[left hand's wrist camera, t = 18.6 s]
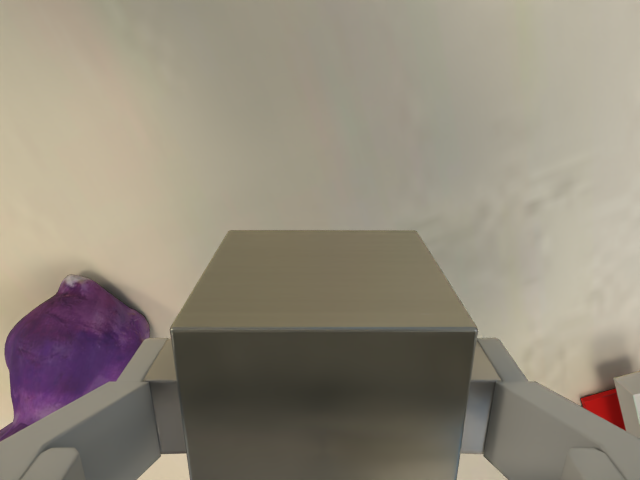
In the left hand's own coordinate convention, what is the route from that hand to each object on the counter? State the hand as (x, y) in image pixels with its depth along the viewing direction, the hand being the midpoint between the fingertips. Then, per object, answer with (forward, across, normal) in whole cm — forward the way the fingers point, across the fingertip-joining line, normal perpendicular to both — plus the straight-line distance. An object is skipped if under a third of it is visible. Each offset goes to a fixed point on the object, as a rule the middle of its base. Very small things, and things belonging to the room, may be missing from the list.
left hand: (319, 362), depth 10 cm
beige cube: (+2, 0, 0) cm, 2 cm away
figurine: (+20, +16, +12) cm, 29 cm away
